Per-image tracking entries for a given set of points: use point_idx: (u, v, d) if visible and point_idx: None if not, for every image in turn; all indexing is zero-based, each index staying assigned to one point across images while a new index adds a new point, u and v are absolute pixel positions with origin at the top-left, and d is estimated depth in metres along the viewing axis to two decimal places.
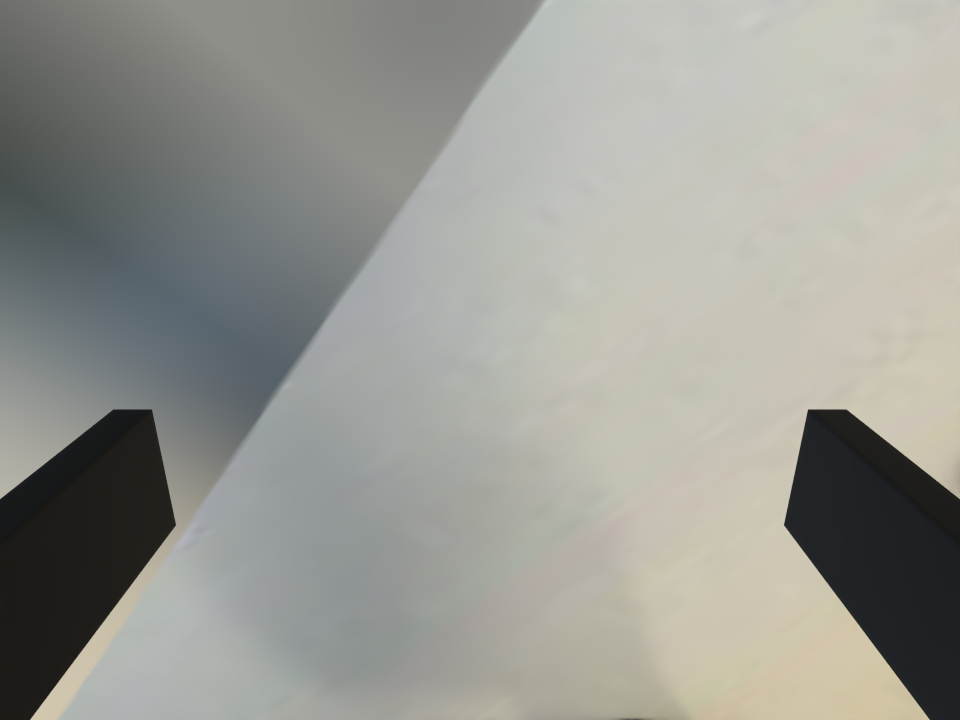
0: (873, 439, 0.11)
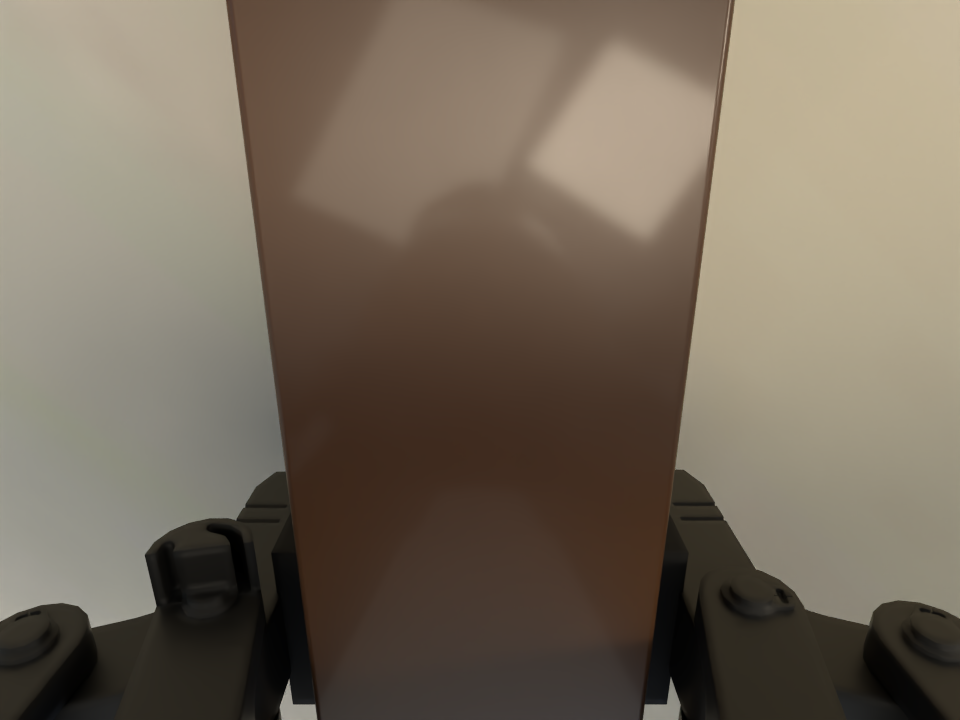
0: None
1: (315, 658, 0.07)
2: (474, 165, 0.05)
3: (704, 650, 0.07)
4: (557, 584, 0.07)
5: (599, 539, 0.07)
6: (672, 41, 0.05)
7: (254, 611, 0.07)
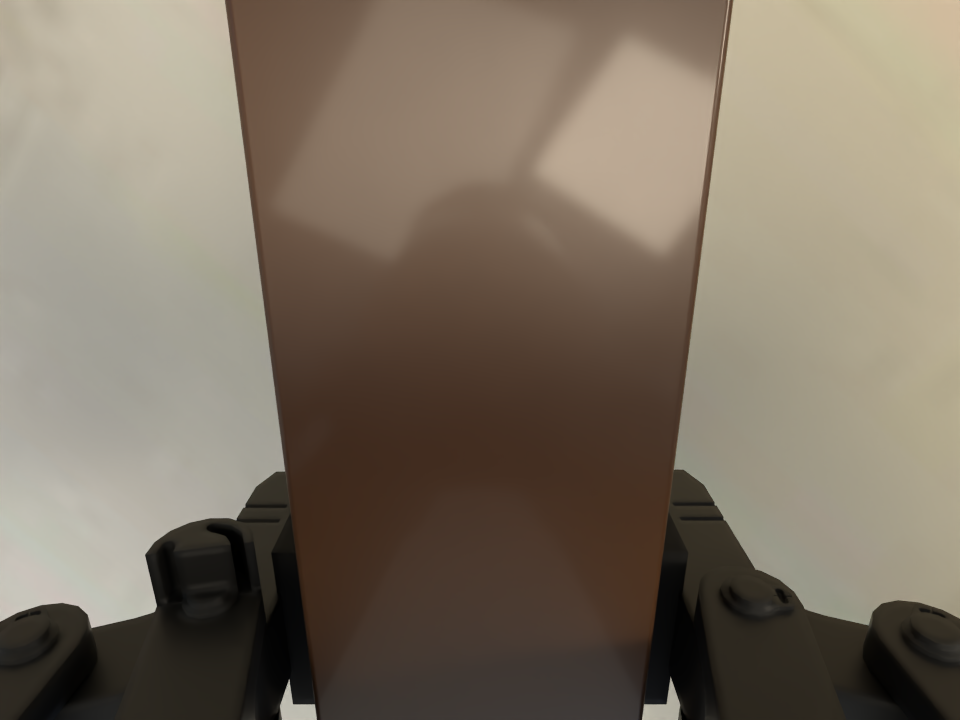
0: None
1: (314, 656, 0.07)
2: (474, 162, 0.05)
3: (703, 650, 0.07)
4: (556, 582, 0.07)
5: (598, 537, 0.07)
6: (671, 38, 0.05)
7: (254, 611, 0.07)
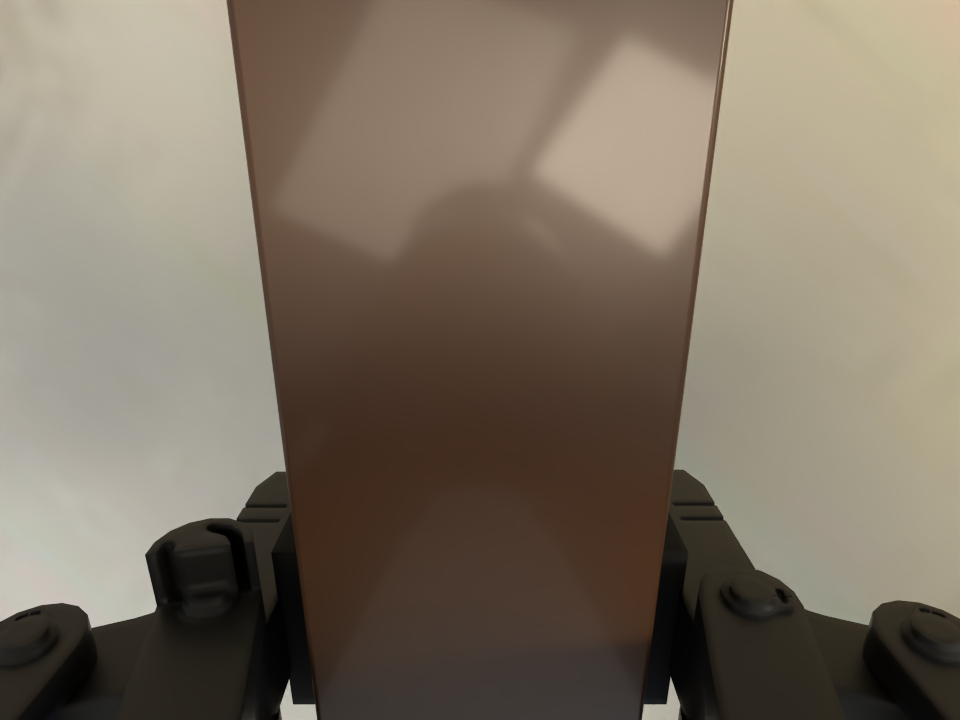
0: None
1: (315, 655, 0.07)
2: (475, 162, 0.05)
3: (704, 650, 0.07)
4: (556, 581, 0.07)
5: (598, 535, 0.07)
6: (671, 38, 0.05)
7: (253, 610, 0.07)
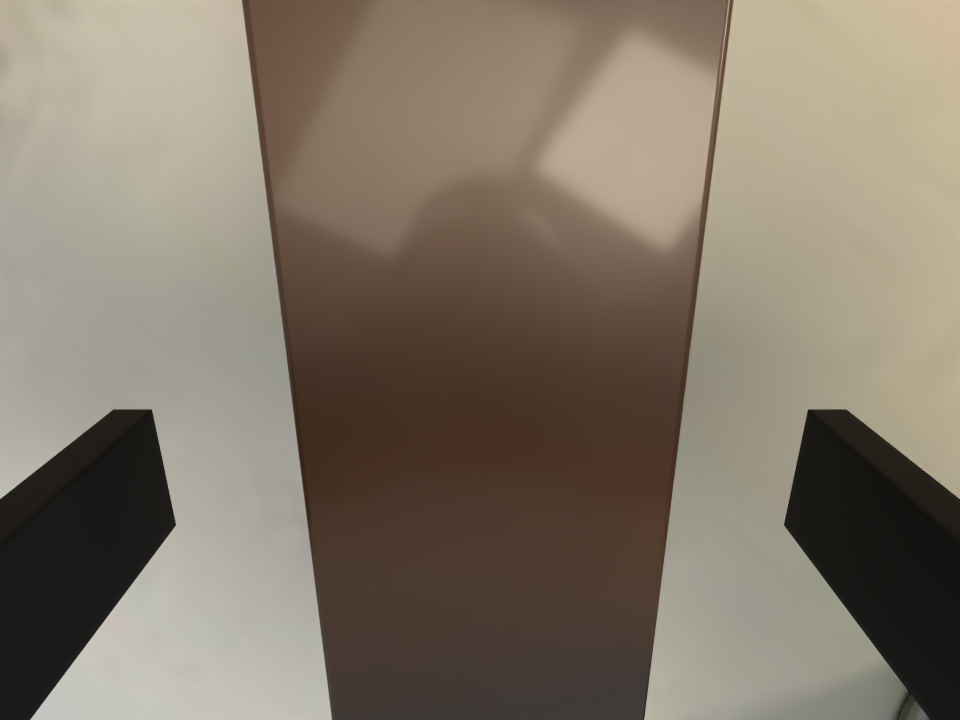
0: (872, 439, 0.11)
1: (326, 629, 0.07)
2: (482, 138, 0.05)
3: None
4: (563, 555, 0.07)
5: (605, 509, 0.07)
6: (675, 14, 0.05)
7: None
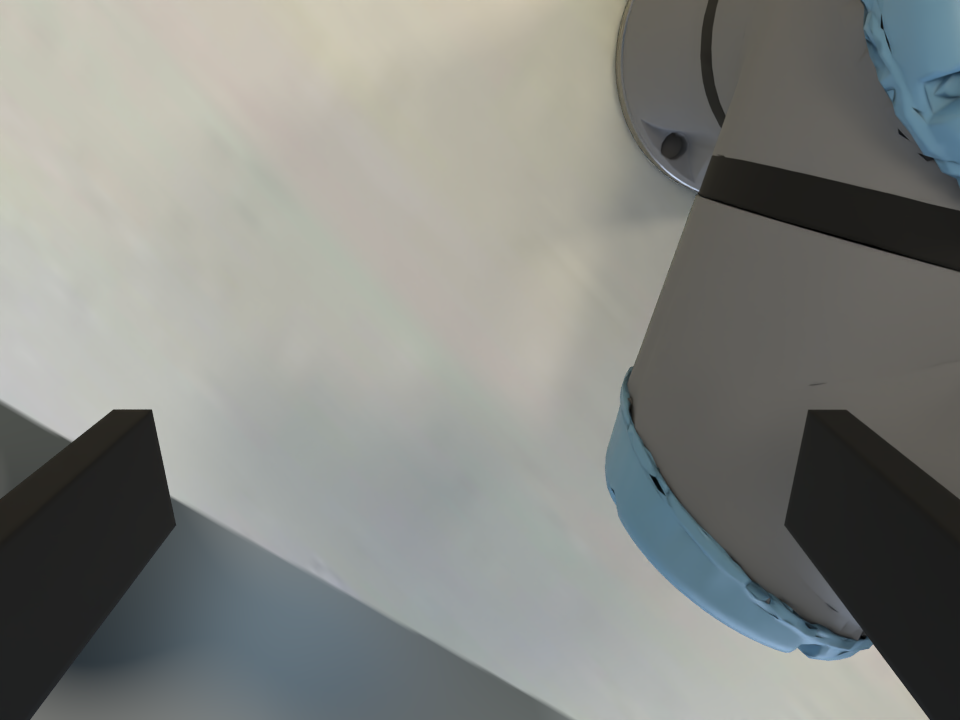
0: (873, 439, 0.11)
1: None
2: None
3: None
4: None
5: None
6: None
7: None
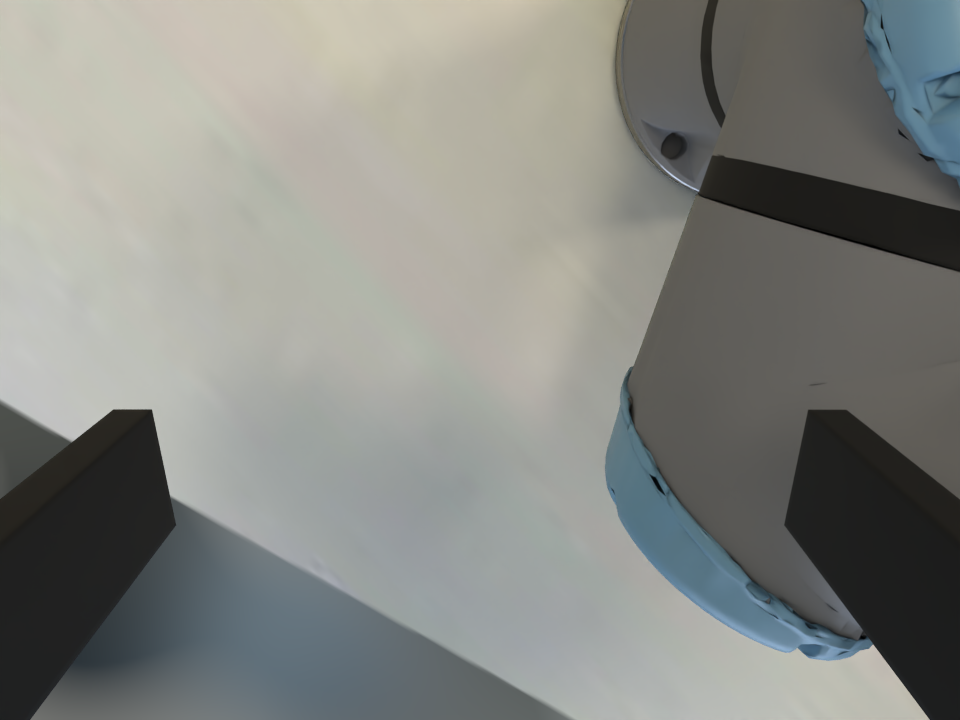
0: (873, 439, 0.11)
1: None
2: None
3: None
4: None
5: None
6: None
7: None
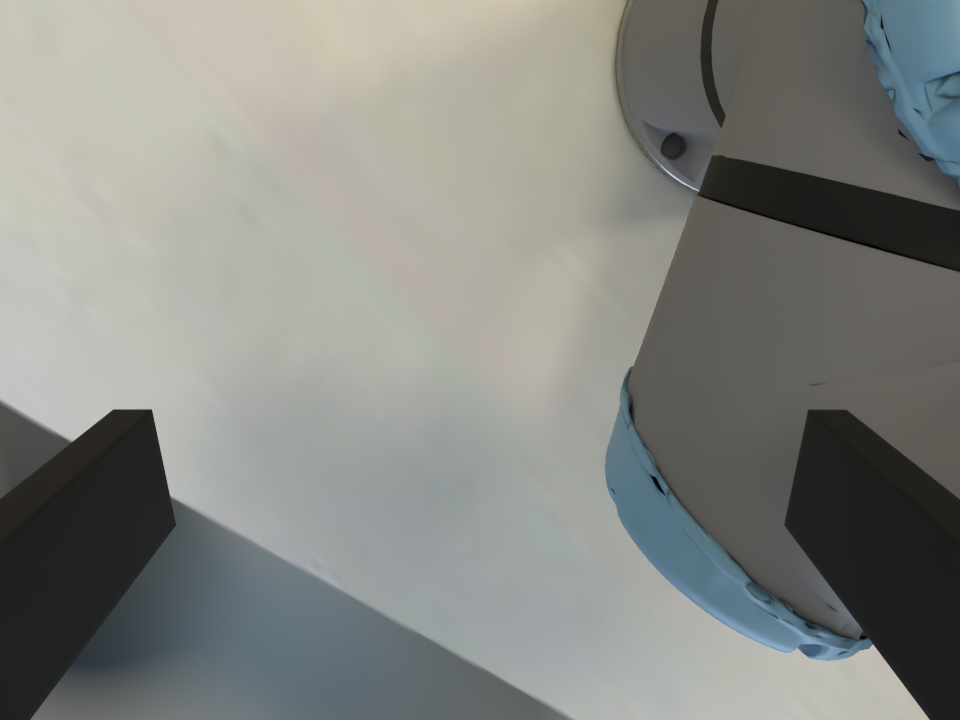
0: (873, 439, 0.11)
1: None
2: None
3: None
4: None
5: None
6: None
7: None
